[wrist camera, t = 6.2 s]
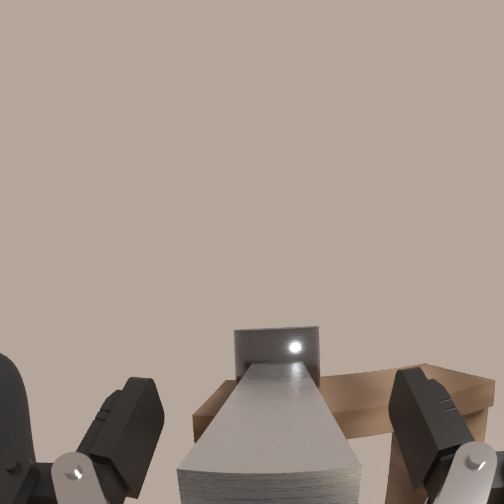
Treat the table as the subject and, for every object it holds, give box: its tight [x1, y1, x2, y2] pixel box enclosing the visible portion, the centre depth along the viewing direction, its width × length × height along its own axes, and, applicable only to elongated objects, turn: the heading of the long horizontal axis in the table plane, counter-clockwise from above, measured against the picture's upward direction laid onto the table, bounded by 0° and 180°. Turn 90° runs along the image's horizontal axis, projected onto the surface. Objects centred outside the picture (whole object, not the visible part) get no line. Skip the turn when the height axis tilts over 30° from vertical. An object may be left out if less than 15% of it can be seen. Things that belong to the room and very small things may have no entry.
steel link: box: [177, 326, 361, 504], centre depth 14 cm, size 6×20×4 cm, turn 175°
